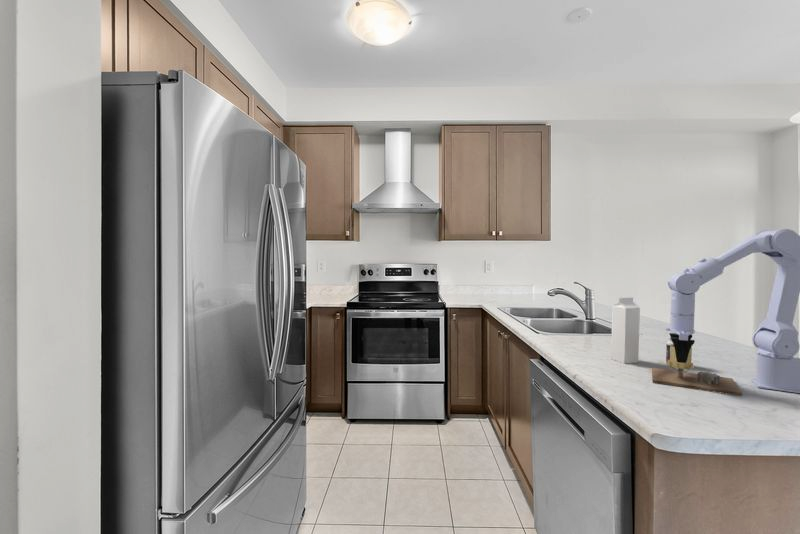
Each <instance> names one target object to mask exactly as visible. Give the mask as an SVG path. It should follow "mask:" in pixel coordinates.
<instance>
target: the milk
mask: <svg viewBox="0 0 800 534" xmlns="http://www.w3.org/2000/svg"><path fill="white" fill-rule="evenodd" d="M611 308H612V309H611V343H610V345H611V346H610V360H613V361H615V362H619V363H621V364H635V363H639V355H640V353H639V351H640V350H639V348H640V344H639V343H640V313H641V308H640V306H639V305H638V304H636V303H635V302H634V297H632V296H630V297H619V298H618V302H616V303H615V304H613V305H612V307H611Z"/></svg>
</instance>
